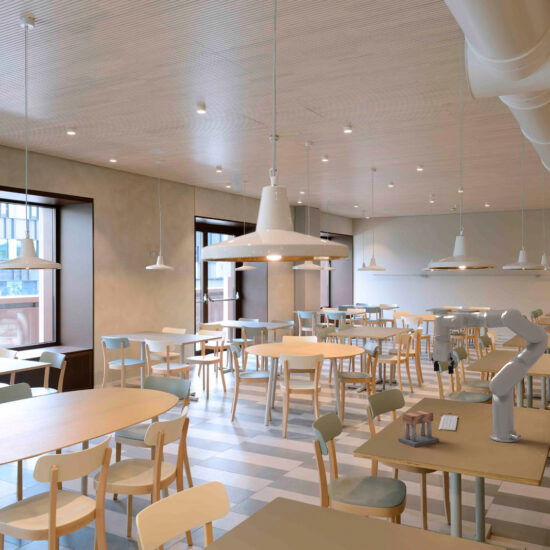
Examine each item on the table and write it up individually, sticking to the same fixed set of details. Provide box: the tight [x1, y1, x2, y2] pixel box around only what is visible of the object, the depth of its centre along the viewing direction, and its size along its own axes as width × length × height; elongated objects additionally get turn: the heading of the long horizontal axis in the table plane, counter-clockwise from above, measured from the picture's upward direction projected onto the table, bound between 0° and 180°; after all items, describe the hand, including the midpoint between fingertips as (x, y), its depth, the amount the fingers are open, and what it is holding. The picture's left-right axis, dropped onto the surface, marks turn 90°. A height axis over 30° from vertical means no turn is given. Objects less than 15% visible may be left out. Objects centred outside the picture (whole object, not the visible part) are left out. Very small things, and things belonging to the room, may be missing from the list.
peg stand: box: [397, 421, 440, 448], centre depth 263 cm, size 11×16×10 cm
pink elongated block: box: [402, 409, 434, 426], centre depth 263 cm, size 14×6×4 cm, turn 119°
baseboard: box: [437, 412, 459, 432], centre depth 295 cm, size 30×3×10 cm
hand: (443, 372), depth 279 cm, fingers open, 9 cm apart
